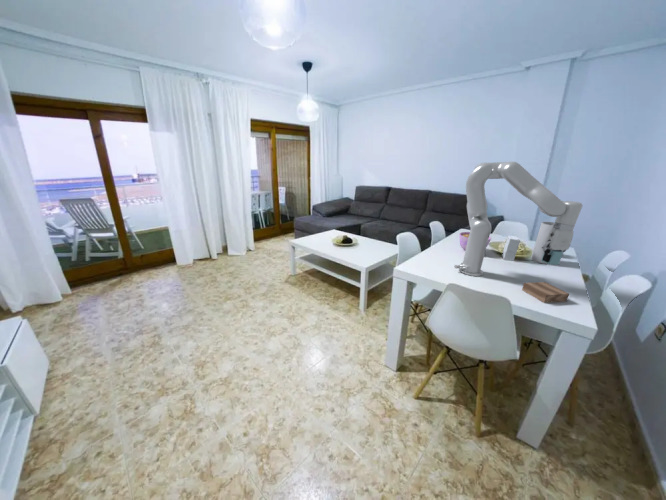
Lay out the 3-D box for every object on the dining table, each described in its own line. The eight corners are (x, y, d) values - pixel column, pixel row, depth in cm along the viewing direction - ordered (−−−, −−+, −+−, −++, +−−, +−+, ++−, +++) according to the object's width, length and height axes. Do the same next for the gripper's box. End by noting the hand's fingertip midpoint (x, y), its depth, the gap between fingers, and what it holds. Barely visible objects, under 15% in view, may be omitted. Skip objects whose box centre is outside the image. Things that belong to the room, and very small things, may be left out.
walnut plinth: (543, 302, 115) (546, 295, 113) (521, 290, 126) (524, 282, 125) (566, 301, 116) (569, 293, 115) (542, 289, 128) (545, 281, 126)
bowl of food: (493, 253, 178) (497, 237, 174) (477, 258, 168) (481, 241, 164) (466, 245, 194) (469, 230, 190) (450, 249, 184) (453, 234, 180)
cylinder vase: (531, 261, 163) (542, 224, 155) (529, 256, 173) (540, 220, 165) (555, 266, 157) (569, 227, 149) (553, 260, 167) (565, 223, 158)
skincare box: (501, 255, 173) (507, 235, 168) (511, 257, 171) (517, 236, 166) (503, 259, 166) (509, 238, 161) (514, 261, 163) (520, 239, 158)
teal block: (550, 264, 127) (555, 251, 124) (541, 260, 131) (545, 248, 129) (558, 264, 127) (563, 251, 125) (549, 260, 132) (554, 248, 130)
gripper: (555, 228, 118) (542, 264, 124) (586, 229, 120) (571, 264, 127) (541, 224, 125) (529, 258, 131) (570, 225, 127) (557, 258, 134)
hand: (550, 260), depth 129 cm, fingers closed on teal block, 5 cm apart
